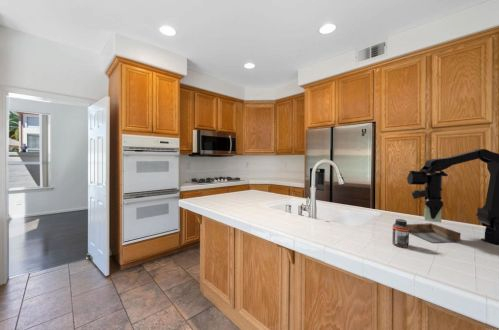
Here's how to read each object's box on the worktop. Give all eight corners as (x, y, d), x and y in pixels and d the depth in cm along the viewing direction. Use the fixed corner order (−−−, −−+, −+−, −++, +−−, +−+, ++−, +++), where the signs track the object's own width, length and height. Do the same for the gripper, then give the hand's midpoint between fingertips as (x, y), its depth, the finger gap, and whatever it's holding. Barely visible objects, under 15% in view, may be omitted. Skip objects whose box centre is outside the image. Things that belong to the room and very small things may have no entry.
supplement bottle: (393, 241, 101) (393, 217, 100) (409, 245, 97) (410, 219, 97) (391, 245, 96) (392, 220, 96) (407, 249, 93) (409, 223, 92)
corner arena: (430, 230, 116) (430, 223, 115) (460, 241, 101) (460, 233, 101) (405, 231, 114) (405, 224, 114) (432, 243, 99) (432, 234, 99)
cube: (424, 217, 110) (424, 205, 110) (440, 219, 107) (440, 207, 106) (424, 220, 106) (425, 207, 105) (441, 222, 102) (441, 209, 102)
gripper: (413, 181, 118) (412, 210, 118) (412, 185, 103) (411, 218, 104) (440, 183, 111) (439, 214, 112) (444, 188, 96) (442, 223, 97)
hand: (432, 217), depth 106 cm, fingers closed on cube, 6 cm apart
